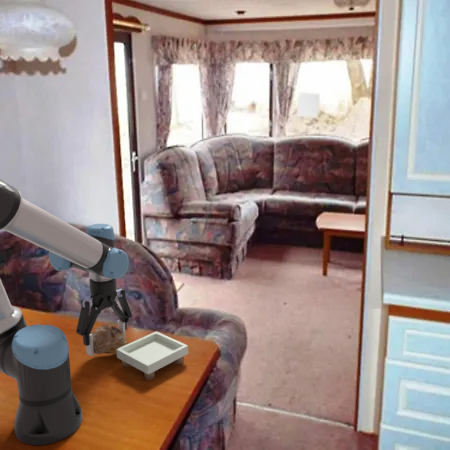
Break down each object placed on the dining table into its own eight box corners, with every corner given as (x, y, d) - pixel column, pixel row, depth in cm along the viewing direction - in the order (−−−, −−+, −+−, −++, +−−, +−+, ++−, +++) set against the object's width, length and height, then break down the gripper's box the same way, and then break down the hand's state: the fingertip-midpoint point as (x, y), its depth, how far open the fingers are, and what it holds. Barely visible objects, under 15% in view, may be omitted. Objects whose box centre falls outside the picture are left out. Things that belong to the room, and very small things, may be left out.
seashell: (108, 360, 141) (94, 327, 142) (91, 367, 147) (78, 336, 148) (135, 346, 149) (122, 315, 150) (118, 353, 155) (105, 324, 156)
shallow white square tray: (148, 382, 136) (147, 365, 134) (117, 365, 145) (116, 349, 143) (188, 361, 146) (188, 345, 145) (157, 346, 155) (156, 331, 154)
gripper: (74, 291, 134) (79, 366, 139) (142, 271, 150) (144, 338, 155) (59, 284, 138) (64, 357, 143) (127, 265, 155) (129, 331, 160)
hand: (106, 347), depth 149 cm, fingers closed on seashell, 11 cm apart
